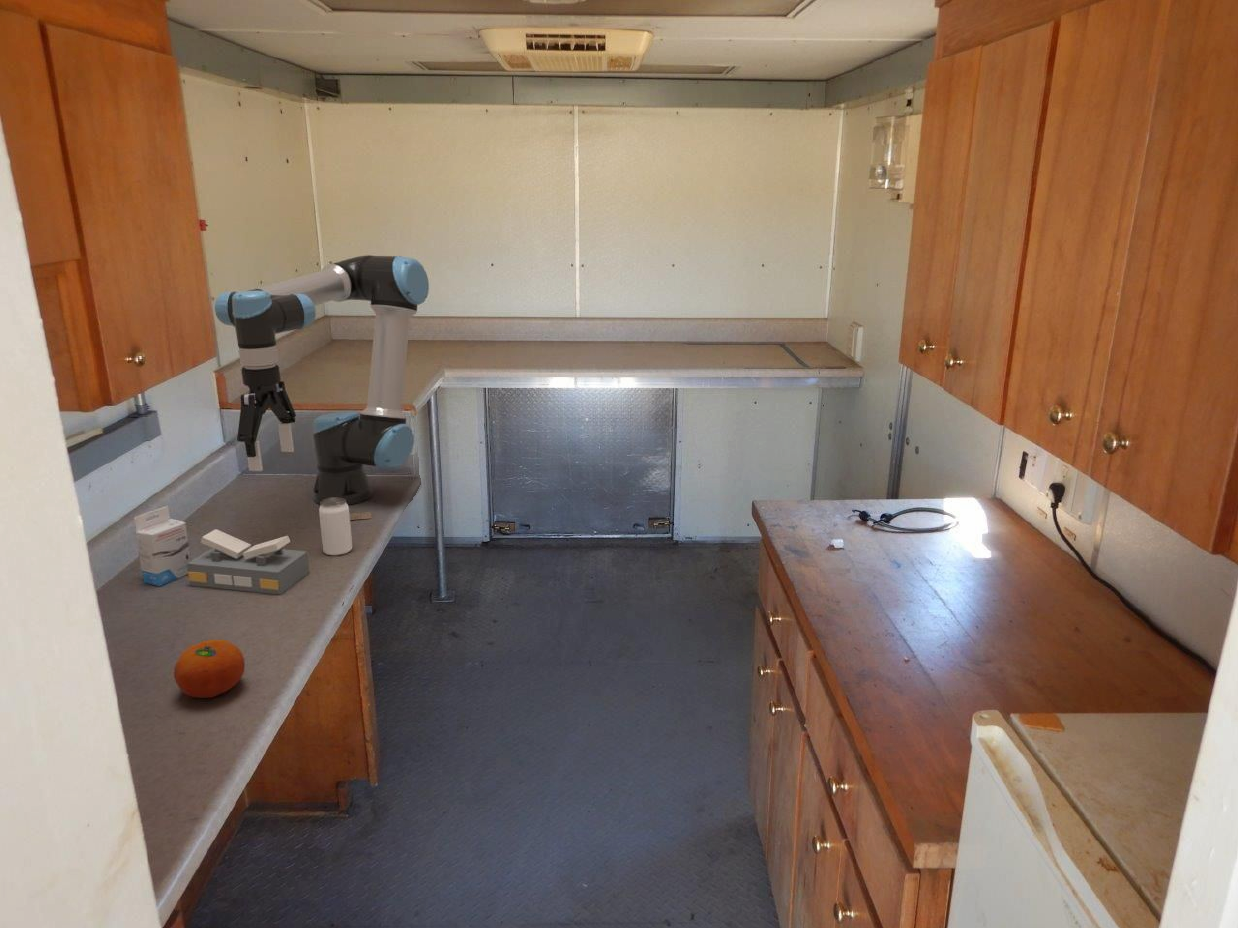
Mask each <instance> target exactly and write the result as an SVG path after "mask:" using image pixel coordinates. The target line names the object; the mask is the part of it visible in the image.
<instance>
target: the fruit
mask: <svg viewBox="0 0 1238 928" xmlns="http://www.w3.org/2000/svg"><path fill="white" fill-rule="evenodd" d="M245 667H246V666H245V658H244V655H243V653H242V650H241V649H240V648H239V647H238V646H236V645H235V644H234V643H232V642H230V641H229V640H225V639H219V638H218V639H209V640H208V639H207V640H204V641H201V642H198V643H196V644H193V645H191V646H189V647H188V648H186V649H185V650H183V652H182V653H180V655H179V657H178V659H177V661H176V664H175V667H174V671H173V676H174V679H175V682H176V685H177V686H178V688H179V690H180V691H182V692H183V693H184V694H185V695H187V696H189V697H192V698H201V699H202V698H203V699H205V698H206V699H209V698H214V697H217V696H218V695H221V694H223V693H226V692H228V691H229V690H230V689H232V688H233V687H234V686H235V685H236V684H237V683H238V682H239V681H240V680H241V678H242V677H243V674H244V672H245Z"/></svg>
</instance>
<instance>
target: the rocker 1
mask: <svg viewBox="0 0 1238 928" xmlns="http://www.w3.org/2000/svg"><path fill="white" fill-rule="evenodd" d="M200 544H202V545H205V546H208V547H209V548H214V549H215V551H214V552H220V553H221V556H223V555H225V554H227V555H230V556H232V557H234V558H236V559H237V558H239V557H240V556H242V555H243V554H242V553H244V552H245V551H247V550H248V549H250V547H251V546H252V544H250V543H248V542H247V541H243V540H241V539H239V538H237V537H235V536H234V535H233V536H232V535H230V534H228V533H225V532H223V531H222V530H219V529H216V528H215V529H213V530H212V531H210V532H208V533H206V534H205V535H203V536H202V537H201V540H200Z"/></svg>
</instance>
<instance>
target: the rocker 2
mask: <svg viewBox="0 0 1238 928" xmlns="http://www.w3.org/2000/svg"><path fill="white" fill-rule="evenodd" d="M290 542H291V540H290V537H289V535H285V536H281V537H278V538H274V539H271V540H267V541H264V542H261V543H258V544H255V545H253V546H252V548H250V549H248V550H247V551H245V552H244V553H242V554H243V556H244V558H245V559H249V558H252V557H255V556H265V557H266V558H268V557H269V556H271V555H272V554H274V553H275V552H277V551H278V550H280V548H282V549H283V547H285V546H286V545H288V544H290Z"/></svg>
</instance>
